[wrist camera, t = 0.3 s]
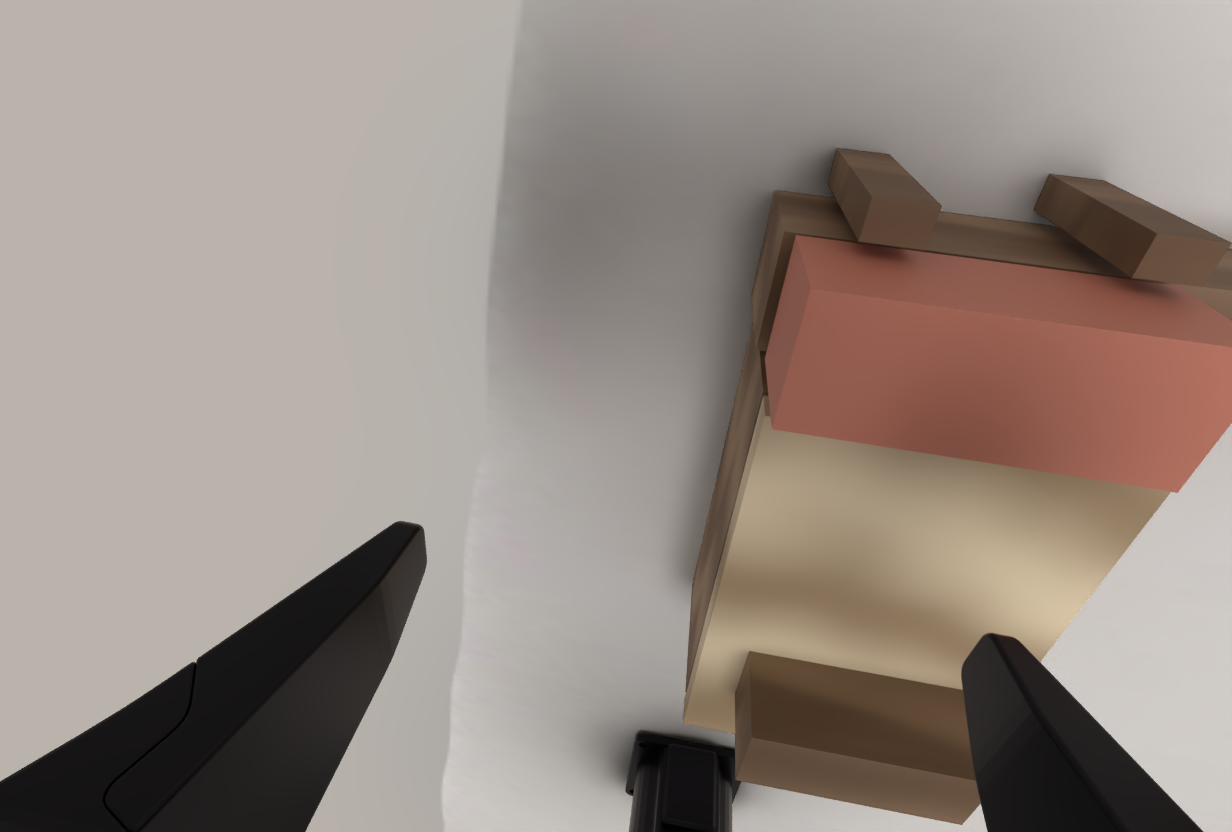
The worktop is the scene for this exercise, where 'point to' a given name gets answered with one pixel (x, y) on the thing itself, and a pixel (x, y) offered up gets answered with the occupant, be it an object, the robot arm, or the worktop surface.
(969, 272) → the pink rectangular block
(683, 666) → the worktop surface
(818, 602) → the lid
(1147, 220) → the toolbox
